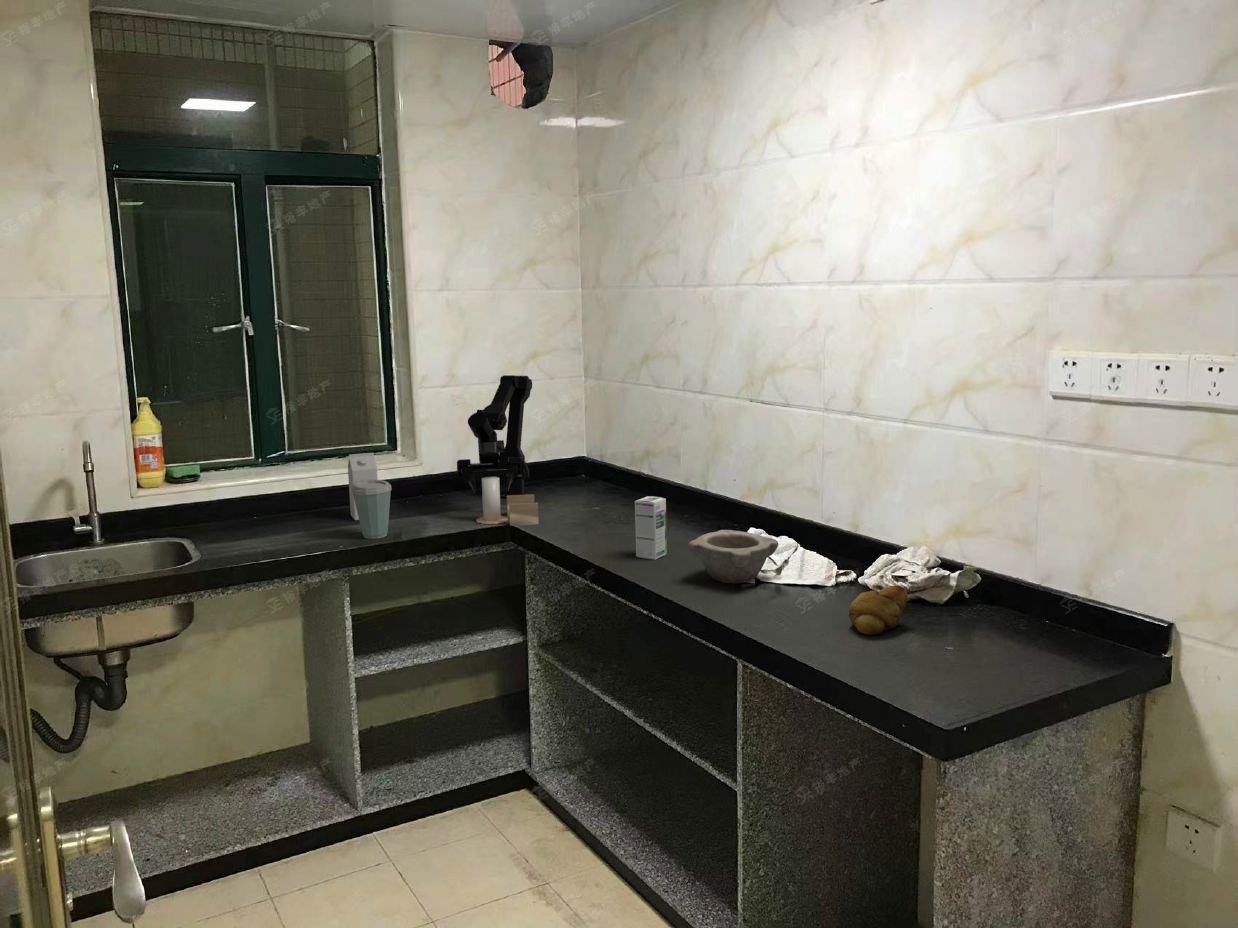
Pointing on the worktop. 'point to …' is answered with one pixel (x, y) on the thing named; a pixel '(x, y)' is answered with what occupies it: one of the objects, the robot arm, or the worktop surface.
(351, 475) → the milk carton
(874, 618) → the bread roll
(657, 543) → the syrup box
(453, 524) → the worktop surface
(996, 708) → the worktop surface
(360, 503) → the disposable coffee cup
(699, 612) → the worktop surface
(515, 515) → the outer gate wall
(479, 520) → the pad
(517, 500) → the wall
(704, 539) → the mortar
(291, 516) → the worktop surface
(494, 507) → the white cylinder
